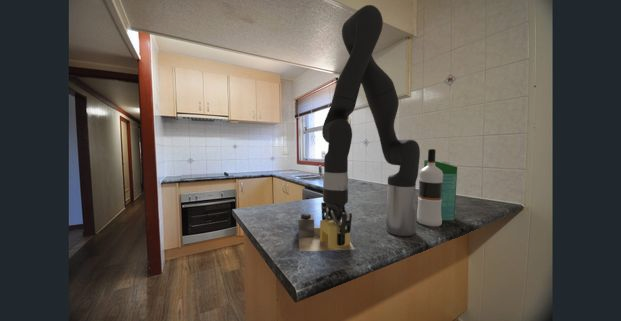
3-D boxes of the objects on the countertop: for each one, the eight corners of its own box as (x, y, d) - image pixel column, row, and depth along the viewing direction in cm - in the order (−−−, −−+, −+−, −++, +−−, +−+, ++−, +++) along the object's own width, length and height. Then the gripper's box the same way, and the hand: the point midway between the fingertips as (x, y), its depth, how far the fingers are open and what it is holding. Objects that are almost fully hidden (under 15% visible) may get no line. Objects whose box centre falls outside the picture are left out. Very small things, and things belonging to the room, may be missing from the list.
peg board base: (341, 230, 76) (342, 209, 75) (354, 253, 60) (355, 226, 59) (298, 232, 74) (298, 210, 74) (299, 255, 58) (299, 228, 58)
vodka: (410, 221, 86) (413, 148, 84) (424, 217, 90) (428, 148, 88) (432, 229, 78) (436, 149, 76) (447, 225, 82) (451, 149, 80)
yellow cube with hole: (338, 236, 68) (339, 215, 68) (350, 244, 62) (350, 221, 62) (320, 240, 65) (320, 218, 65) (329, 249, 60) (330, 225, 59)
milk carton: (454, 220, 87) (457, 161, 85) (432, 220, 87) (435, 161, 85) (441, 213, 96) (444, 159, 94) (421, 213, 96) (424, 159, 94)
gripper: (314, 183, 67) (313, 233, 69) (337, 192, 54) (336, 253, 56) (333, 181, 71) (333, 229, 72) (360, 190, 58) (359, 248, 59)
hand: (334, 240), depth 64 cm, fingers closed on yellow cube with hole, 6 cm apart
